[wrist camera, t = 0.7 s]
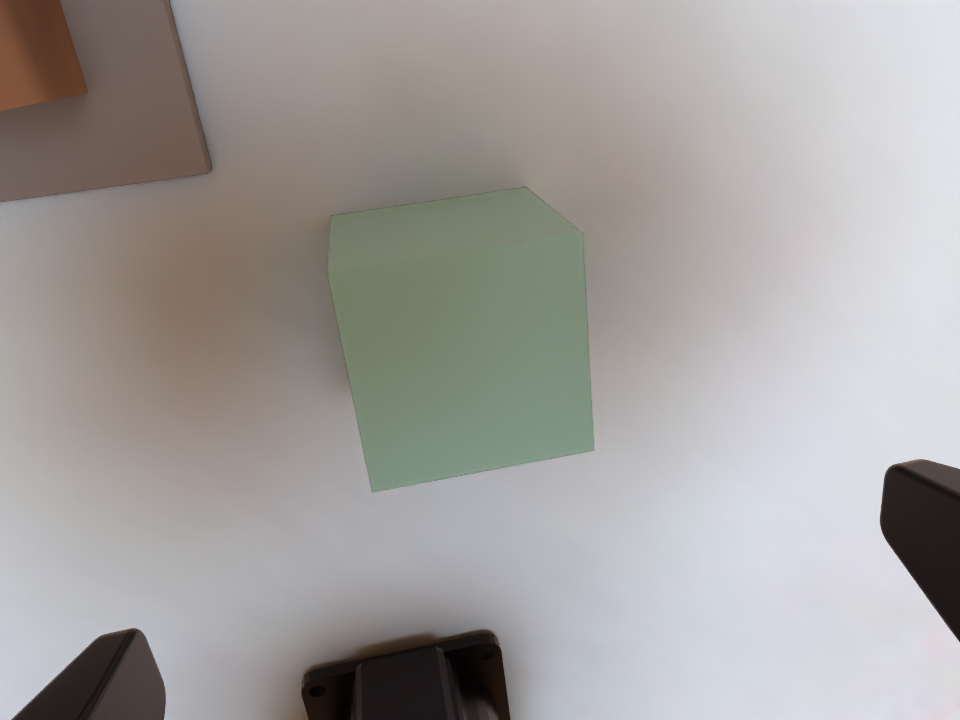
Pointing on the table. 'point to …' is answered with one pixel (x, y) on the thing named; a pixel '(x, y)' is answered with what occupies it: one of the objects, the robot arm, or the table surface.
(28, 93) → the walnut block
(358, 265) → the green cube
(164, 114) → the mat
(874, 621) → the table surface
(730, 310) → the table surface
